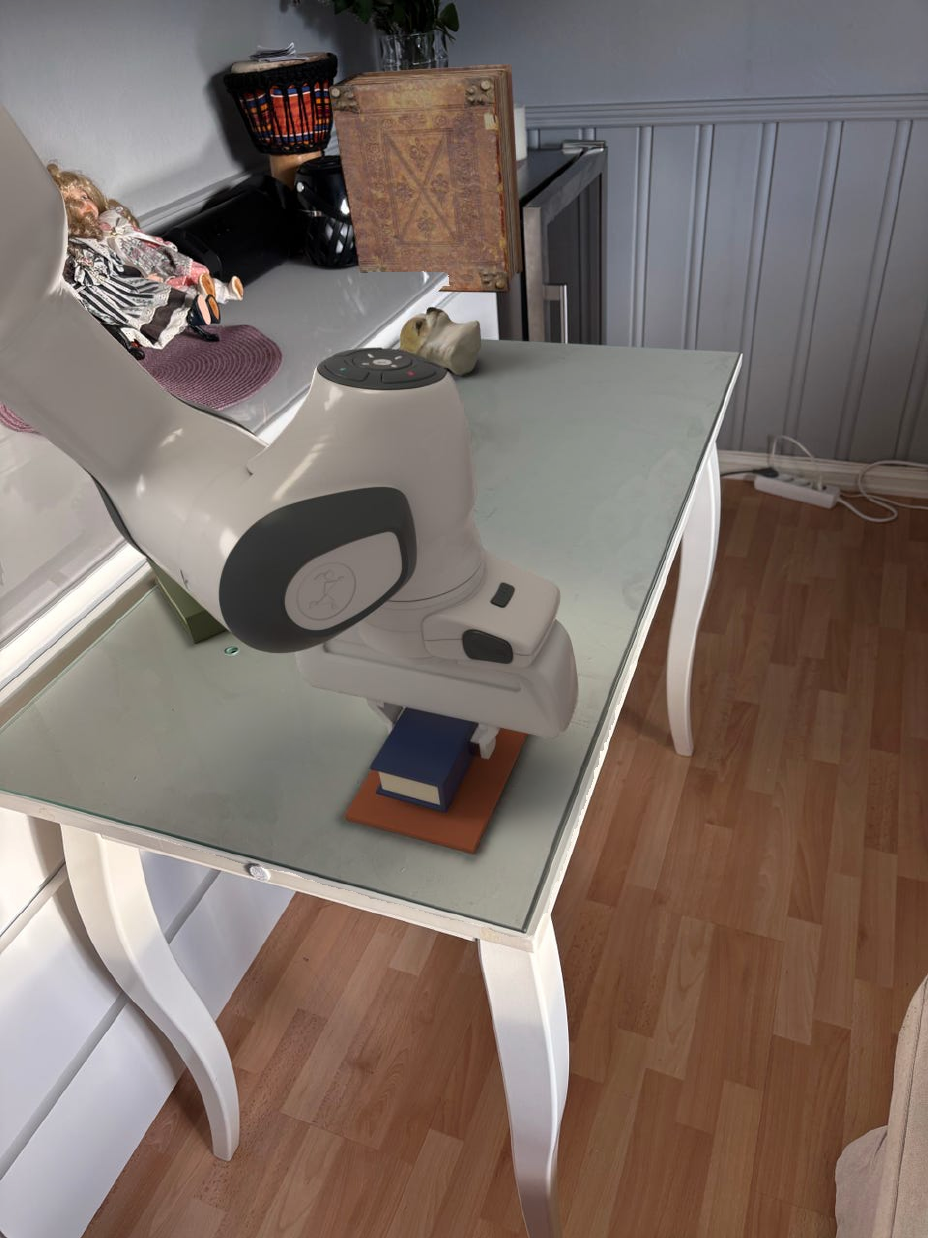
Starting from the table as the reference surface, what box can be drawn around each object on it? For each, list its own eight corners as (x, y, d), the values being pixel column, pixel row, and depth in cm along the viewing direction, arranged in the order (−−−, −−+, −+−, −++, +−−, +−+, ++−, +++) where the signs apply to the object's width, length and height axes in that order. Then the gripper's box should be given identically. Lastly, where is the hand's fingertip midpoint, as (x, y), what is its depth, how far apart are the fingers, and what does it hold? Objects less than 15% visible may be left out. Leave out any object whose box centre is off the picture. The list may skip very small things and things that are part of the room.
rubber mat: (474, 854, 62) (473, 849, 62) (345, 819, 66) (344, 815, 65) (537, 713, 72) (536, 709, 72) (422, 689, 75) (421, 685, 75)
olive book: (194, 643, 83) (185, 618, 81) (154, 582, 91) (145, 558, 89) (349, 576, 89) (344, 551, 87) (299, 524, 97) (293, 500, 95)
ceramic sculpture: (457, 324, 113) (358, 320, 119) (467, 390, 118) (371, 382, 125) (495, 294, 120) (399, 291, 126) (503, 357, 125) (410, 352, 132)
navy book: (446, 813, 63) (442, 786, 61) (375, 794, 65) (369, 766, 63) (500, 704, 71) (498, 677, 69) (436, 689, 73) (432, 662, 71)
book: (524, 272, 151) (513, 63, 132) (509, 293, 144) (495, 75, 125) (382, 271, 158) (352, 72, 139) (362, 290, 151) (328, 85, 132)
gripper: (256, 598, 60) (300, 742, 69) (554, 653, 53) (561, 806, 62) (303, 545, 64) (338, 686, 73) (584, 589, 57) (586, 740, 66)
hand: (442, 742), depth 67 cm, fingers closed on navy book, 5 cm apart
